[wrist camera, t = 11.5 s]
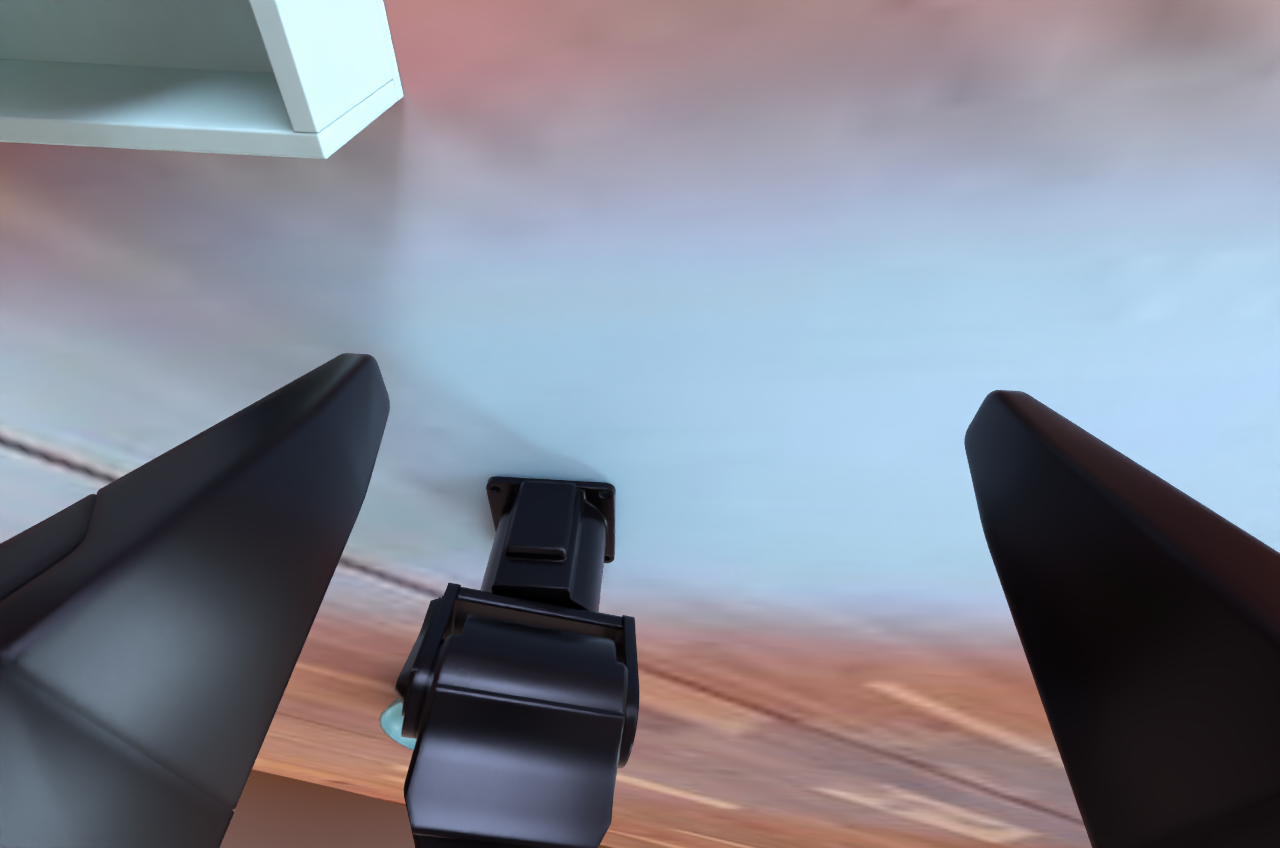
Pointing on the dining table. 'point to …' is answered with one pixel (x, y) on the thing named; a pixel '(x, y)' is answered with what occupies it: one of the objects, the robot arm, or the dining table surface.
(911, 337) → the dining table surface
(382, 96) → the bin
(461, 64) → the dining table surface
